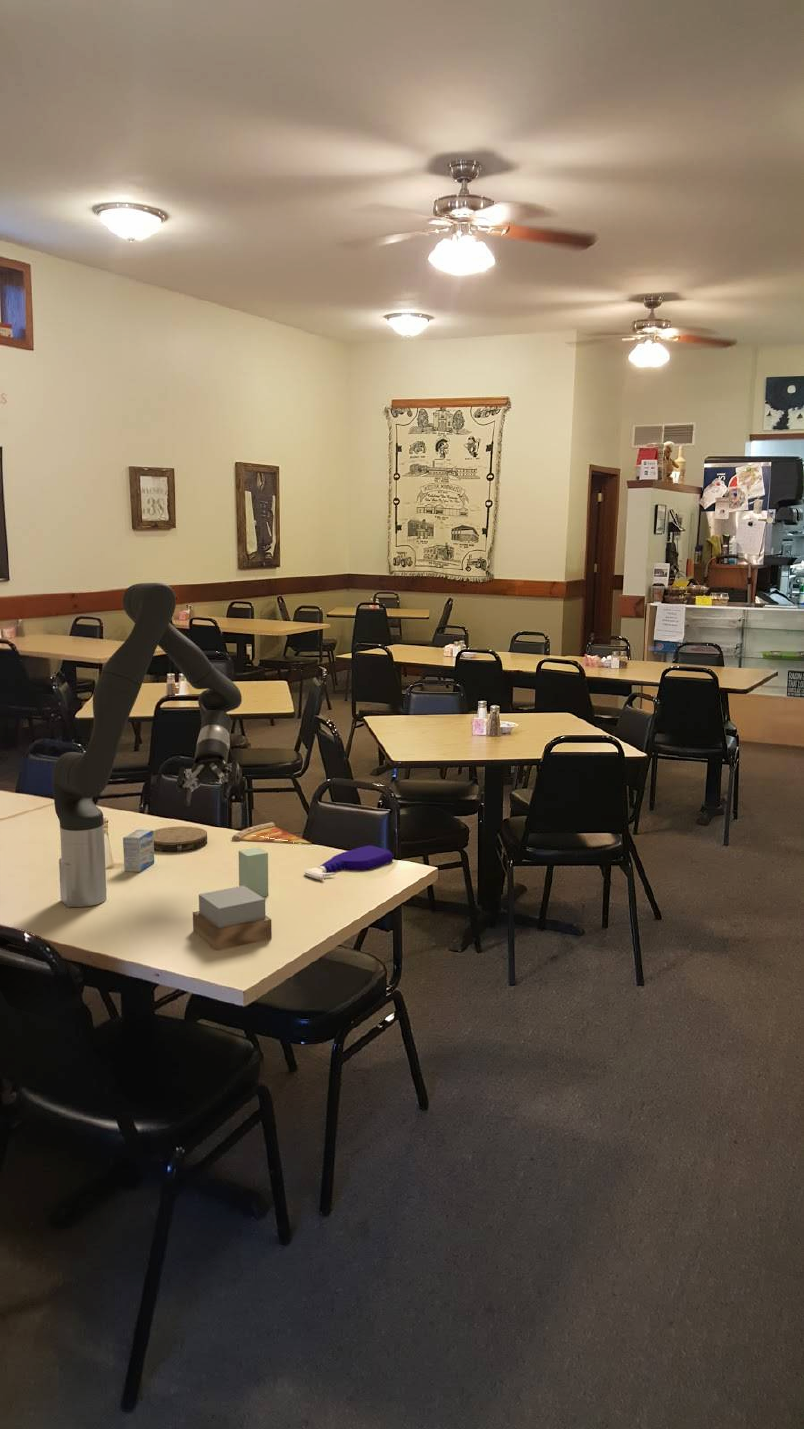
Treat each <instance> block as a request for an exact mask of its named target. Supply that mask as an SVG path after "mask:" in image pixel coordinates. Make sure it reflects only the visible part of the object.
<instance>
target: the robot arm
mask: <svg viewBox="0 0 804 1429" xmlns="http://www.w3.org/2000/svg"><path fill="white" fill-rule="evenodd" d="M176 597H177V596H176V593H175V592H174V590H173V588H172V587H171V586H170V585H168V584H167V583H163V582H141V583H134V584H132V585H130V586H129V587H127V588H126V590H125V591H124V593H123V595H122V606H123V609H124V612H125V613H126V614H125V615H127V617H128V618H129V619H130V620H131V621H132V623H134V625H133V628H132V629H131V632H130V634H129V635H128V637H127V638H126V639H125V641H123V643H122V644H121V645H120V646H119V647H117V648H118V649H116V650H115V652H114V653H113V654H112V655H111V656H110V657H109V659H108V660H107V661H106V663H105V664H104V666H103V667H102V670H101V672H100V674H99V677H98V679H97V681H96V683H95V686H94V689H93V693H92V713H93V729H92V735H91V738H90V740H89V742H88V744H87V745H88V746H87V748H86V749H85V752H84V753H82V752H75V751H69V752H66V753H63V754H62V755H60V756H59V757H58V758H57V759H56V760H55V764H54V765H53V769H52V780H51V781H52V793H53V801H54V810H55V815H56V817H57V818H58V822H59V835H60V856H61V858H59V859H58V867H59V868H58V870H59V889H60V901H61V902H62V903H63V904H64V905H65V906H66V908H72V907H75V908H76V907H78V908H81V907H82V908H84V907H91V906H97V905H99V904H102V903H103V902H105V901H106V900H107V874H106V873H107V871H106V851H105V850H106V848H105V844H106V843H105V825H104V823H105V822H104V819H105V818H104V813H103V811H102V810H101V809H100V808H99V807H98V806H97V805H96V804H95V803H94V801H93V799H92V798H95V797H98V796H99V795H101V794H102V793H103V792H104V791H105V789H106V787H107V785H108V783H109V781H110V778H111V775H112V772H113V768H114V765H115V763H116V762H115V760H116V757H117V753H118V750H119V746H120V744H121V743H120V742H121V740H122V737H123V735H124V732H125V729H126V726H127V724H128V720H129V719H130V718H129V717H130V715H131V712H132V710H133V708H134V705H135V703H136V701H137V699H138V696H139V694H140V690H141V688H142V686H143V683H144V680H145V677H146V674H147V672H148V670H149V668H150V664H151V663H152V660H153V657H154V655H155V653H156V650H157V648H158V647H159V648H160V649H161V650H162V651H163V652H164V653H165V654H166V655H167V656H168V658H169V659H170V660H171V661H172V662H173V663H174V665H175V666H176V667H177V668H178V670H179V671H180V673H181V674H182V676H184V678H185V679H186V681H187V682H188V683H189V684H190V686H191V687H192V688H194V689H196V690H203V691H202V692H201V693H200V694H199V696H198V700H197V702H198V703H197V704H198V708H199V712H200V719H201V725H200V729H199V733H198V738H197V742H196V749H195V754H194V760H193V766H192V767H191V768H185V766H181V767H180V768H179V769H178V770H179V771H178V775H177V779H176V783H175V787H176V790H178V793H180V794H182V796H181V800H182V802H183V804H184V805H185V806H186V807H188V806H189V807H190V805H191V800H192V795H193V791H195V790H196V789H197V790H198V788H199V787H201V785H206V784H215V783H217V782H219V783H220V784H221V788H220V794H219V795H220V798H221V800H222V802H226V801H227V799H228V798H230V790H231V788H232V787H233V786H235V787H237V786H238V785H239V784H240V771H241V769H240V765H239V763H238V760H237V759H233V760H232V761H231V762H229V763H228V757H229V752H230V748H231V747H230V746H231V744H230V741H231V740H230V736H231V735H230V734H231V726H232V719H231V716H230V715H229V712H231V711H234V710H236V709H238V708H239V707H240V706H241V704H242V700H243V699H242V698H243V697H242V693H241V690H240V689H239V687H238V686H237V685H236V684H235V683H234V682H233V681H232V680H231V679H229V678H228V677H227V676H225V675H224V673H222V672H221V671H219V670H218V669H216V668H215V667H214V665H213V664H212V663H211V660H209V659H208V657H207V656H206V654H205V653H204V652H203V650H202V649H201V648H200V647H199V646H198V645H196V643H194V642H193V641H192V640H191V639H190V638H188V637H187V636H185V635H184V634H183V633H182V632H181V631H179V630H178V629H177V628H176V627H175V626H174V625H173V624H172V623H171V621H172V618H173V617H174V613H175V610H176V608H177V607H176V605H177V598H176ZM228 770H229V771H230V778H228V777H227V776H226V775H225V774H226V772H227V773H228ZM196 780H197V781H196Z"/></svg>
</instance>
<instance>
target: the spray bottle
mask: <svg viewBox="0 0 804 1429" xmlns="http://www.w3.org/2000/svg"><path fill="white" fill-rule="evenodd" d="M393 860H394V855H393V853H392V852H391V851H390V850H388V849H385V848H382V847H378V846H374V845H372V844H371V845H365V846H361V847H357V848H354V849H351V850H347V851H344V852H341V853H339V854H336V855H333V857H332V858H330V859H328V860H326V861H325V862H324V863H322V864H320V865H319V866H317V867H314V868H304V875H305V876H307V877H310V878H312V879H314V880H315V879H316V880H317V881H324V880H325V877H328V876H333V875H334V876H335V875H336V872H337V871H336V870H339V871H341V870H348V871H349V870H350V871H367V870H372V869H375V868H378V867H382V866H384V865H387V864H389V863H390V864H391V862H392V861H393Z"/></svg>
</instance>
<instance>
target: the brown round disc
mask: <svg viewBox="0 0 804 1429" xmlns="http://www.w3.org/2000/svg"><path fill="white" fill-rule="evenodd" d="M153 837H154V852H157V853H171V854H172V853H174V854H175V853H184V852H192V851H196V850H200V849H202V848H204V847H206V846H207V845H208V831H207V830H206V829H204V828H200V827H195V826H170V827H169V826H167V827H163V828H158V829H154V830H153Z"/></svg>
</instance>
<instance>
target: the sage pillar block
mask: <svg viewBox="0 0 804 1429" xmlns="http://www.w3.org/2000/svg"><path fill="white" fill-rule="evenodd" d="M238 884H239V885H238V887H239V886H245V887H247V888H248V889H250V890H252V891H253V892H255V893H256V894H258V895H260V896H261V897H263V898H264V897H268V896H269V852H267V851H265V850H264V849H262V848H261V847H254V848H253V847H252V848H247V849H240V850H238Z"/></svg>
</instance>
